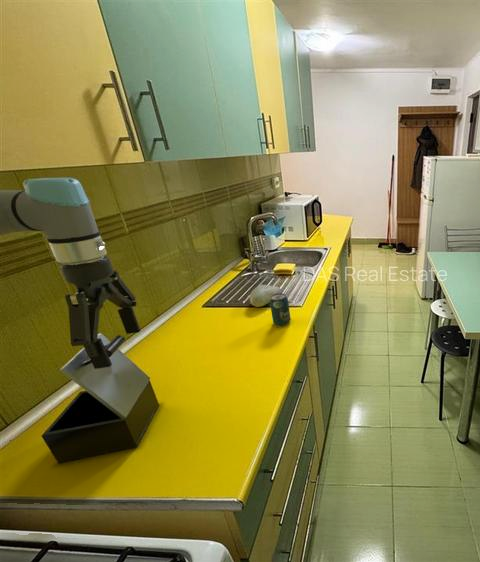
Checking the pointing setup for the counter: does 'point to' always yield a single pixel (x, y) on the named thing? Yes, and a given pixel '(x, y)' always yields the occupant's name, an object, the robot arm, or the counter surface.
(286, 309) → the soda can
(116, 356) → the lid
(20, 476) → the counter surface
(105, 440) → the black hollow box
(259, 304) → the rock
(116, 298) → the robot arm
